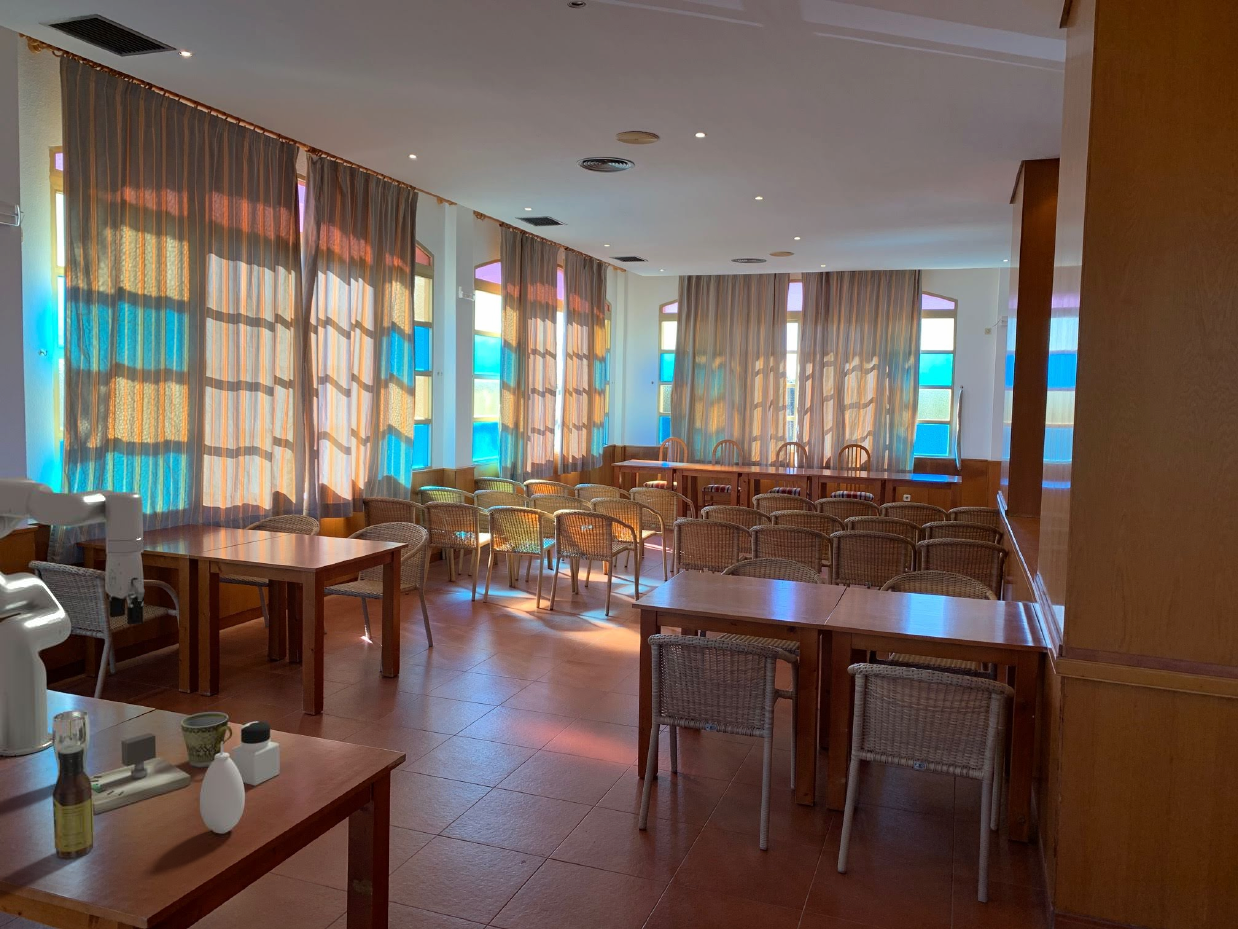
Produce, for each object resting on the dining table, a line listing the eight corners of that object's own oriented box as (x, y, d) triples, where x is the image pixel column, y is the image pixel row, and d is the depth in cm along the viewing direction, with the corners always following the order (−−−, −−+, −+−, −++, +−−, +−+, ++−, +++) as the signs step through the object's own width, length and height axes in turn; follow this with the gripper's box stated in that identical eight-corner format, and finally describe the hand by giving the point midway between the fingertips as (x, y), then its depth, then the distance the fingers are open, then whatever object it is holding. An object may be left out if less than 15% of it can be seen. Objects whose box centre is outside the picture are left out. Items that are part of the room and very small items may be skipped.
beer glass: (73, 791, 193) (71, 722, 192) (45, 787, 194) (43, 719, 193) (98, 778, 199) (97, 711, 198) (71, 774, 201) (69, 708, 200)
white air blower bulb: (227, 818, 182) (226, 730, 180) (253, 828, 178) (252, 738, 176) (191, 834, 175) (190, 743, 174) (217, 845, 171) (216, 752, 170)
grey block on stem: (96, 785, 190) (96, 747, 190) (149, 769, 199) (148, 732, 199) (104, 789, 188) (103, 751, 188) (156, 772, 197) (156, 735, 197)
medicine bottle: (280, 774, 203) (279, 722, 202) (255, 786, 197) (254, 732, 196) (256, 768, 206) (256, 716, 205) (231, 780, 200) (230, 726, 199)
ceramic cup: (171, 766, 207) (170, 723, 206) (206, 750, 216) (205, 709, 215) (214, 775, 202) (214, 731, 201) (248, 759, 211) (248, 717, 210)
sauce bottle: (66, 844, 170) (63, 741, 169) (100, 843, 171) (98, 740, 169) (47, 862, 164) (44, 754, 162) (83, 861, 164) (80, 754, 163)
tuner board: (67, 792, 192) (67, 782, 192) (159, 765, 206) (159, 756, 206) (95, 814, 182) (95, 803, 182) (190, 784, 197) (190, 774, 197)
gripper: (92, 543, 210) (93, 616, 212) (123, 553, 199) (124, 629, 201) (126, 540, 216) (127, 611, 217) (158, 549, 205) (159, 623, 206)
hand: (126, 620), depth 209 cm, fingers open, 9 cm apart
